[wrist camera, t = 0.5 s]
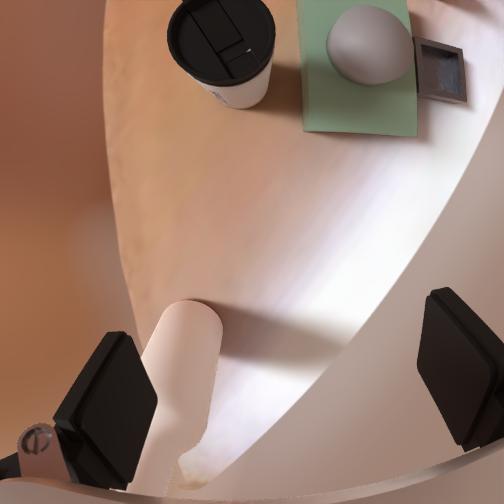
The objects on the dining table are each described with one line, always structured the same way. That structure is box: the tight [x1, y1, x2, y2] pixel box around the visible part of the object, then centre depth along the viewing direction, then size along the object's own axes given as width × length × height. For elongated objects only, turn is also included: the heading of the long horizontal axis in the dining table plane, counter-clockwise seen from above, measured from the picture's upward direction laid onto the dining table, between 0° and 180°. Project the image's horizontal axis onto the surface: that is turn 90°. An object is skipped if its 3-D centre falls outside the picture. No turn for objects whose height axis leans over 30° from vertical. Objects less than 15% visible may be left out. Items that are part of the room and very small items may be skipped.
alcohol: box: [116, 300, 223, 498], centre depth 30 cm, size 9×9×30 cm
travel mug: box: [167, 0, 276, 109], centre depth 24 cm, size 6×7×20 cm
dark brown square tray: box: [412, 37, 467, 103], centre depth 30 cm, size 7×7×3 cm
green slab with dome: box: [296, 0, 418, 137], centre depth 27 cm, size 18×12×9 cm, turn 2°
